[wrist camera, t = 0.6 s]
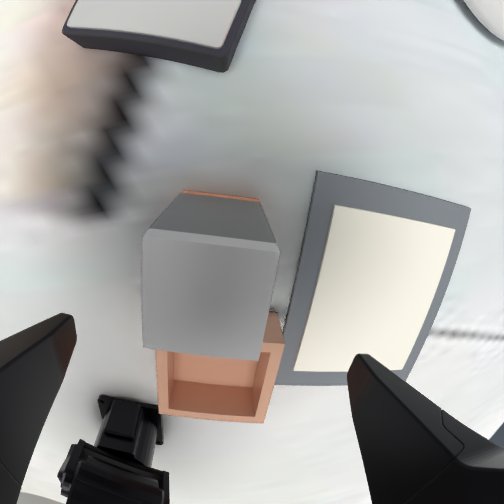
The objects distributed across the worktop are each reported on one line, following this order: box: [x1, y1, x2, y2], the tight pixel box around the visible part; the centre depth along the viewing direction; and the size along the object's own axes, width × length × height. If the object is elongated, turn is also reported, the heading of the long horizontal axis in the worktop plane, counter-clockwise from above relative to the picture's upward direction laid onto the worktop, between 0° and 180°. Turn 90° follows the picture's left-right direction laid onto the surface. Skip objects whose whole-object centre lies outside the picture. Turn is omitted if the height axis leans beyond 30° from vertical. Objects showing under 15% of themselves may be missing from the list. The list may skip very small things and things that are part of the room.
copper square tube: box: [156, 312, 285, 423], centre depth 23 cm, size 8×8×4 cm
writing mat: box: [274, 171, 471, 386], centre depth 24 cm, size 18×14×1 cm
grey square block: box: [141, 190, 280, 361], centre depth 17 cm, size 5×5×10 cm
